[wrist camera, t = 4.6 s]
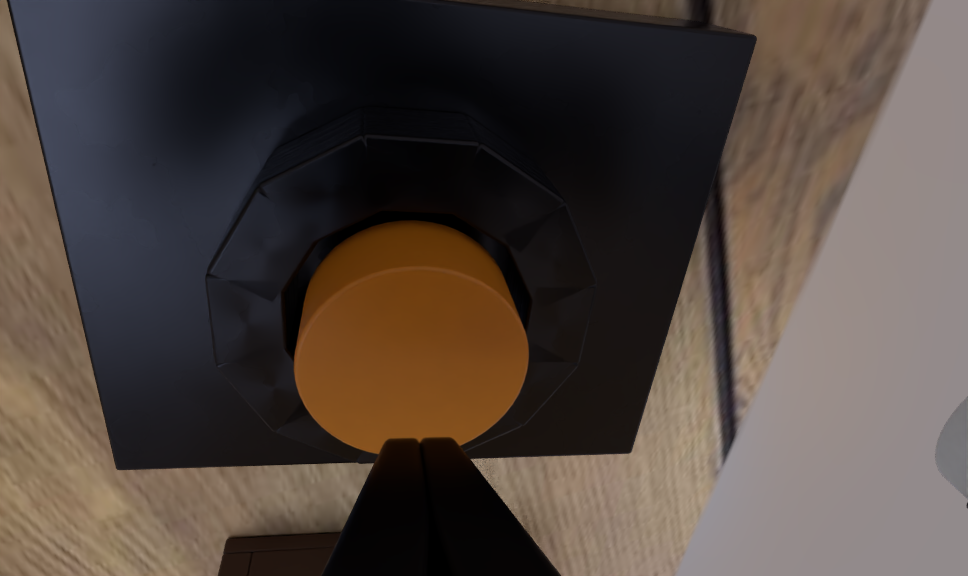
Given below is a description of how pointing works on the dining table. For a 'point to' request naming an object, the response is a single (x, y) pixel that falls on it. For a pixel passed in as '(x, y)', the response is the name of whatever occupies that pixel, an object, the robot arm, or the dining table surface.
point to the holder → (278, 555)
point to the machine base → (368, 196)
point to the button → (409, 337)
